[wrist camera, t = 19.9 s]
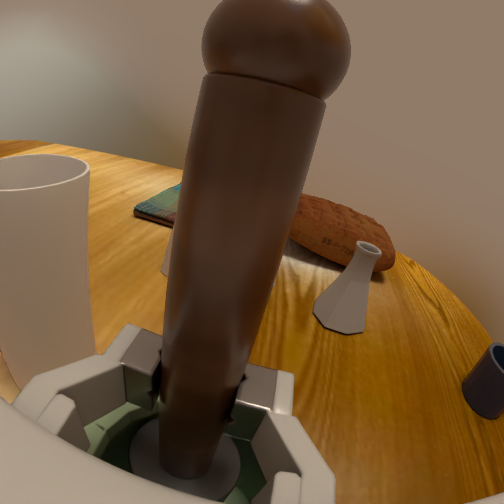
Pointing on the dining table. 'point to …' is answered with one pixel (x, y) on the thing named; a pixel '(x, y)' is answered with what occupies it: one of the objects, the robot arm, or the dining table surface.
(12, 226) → the cup
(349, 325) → the flask
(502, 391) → the holder
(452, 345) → the dining table surface
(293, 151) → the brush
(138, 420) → the jar
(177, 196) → the dish towel
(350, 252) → the cuneiform tablet
